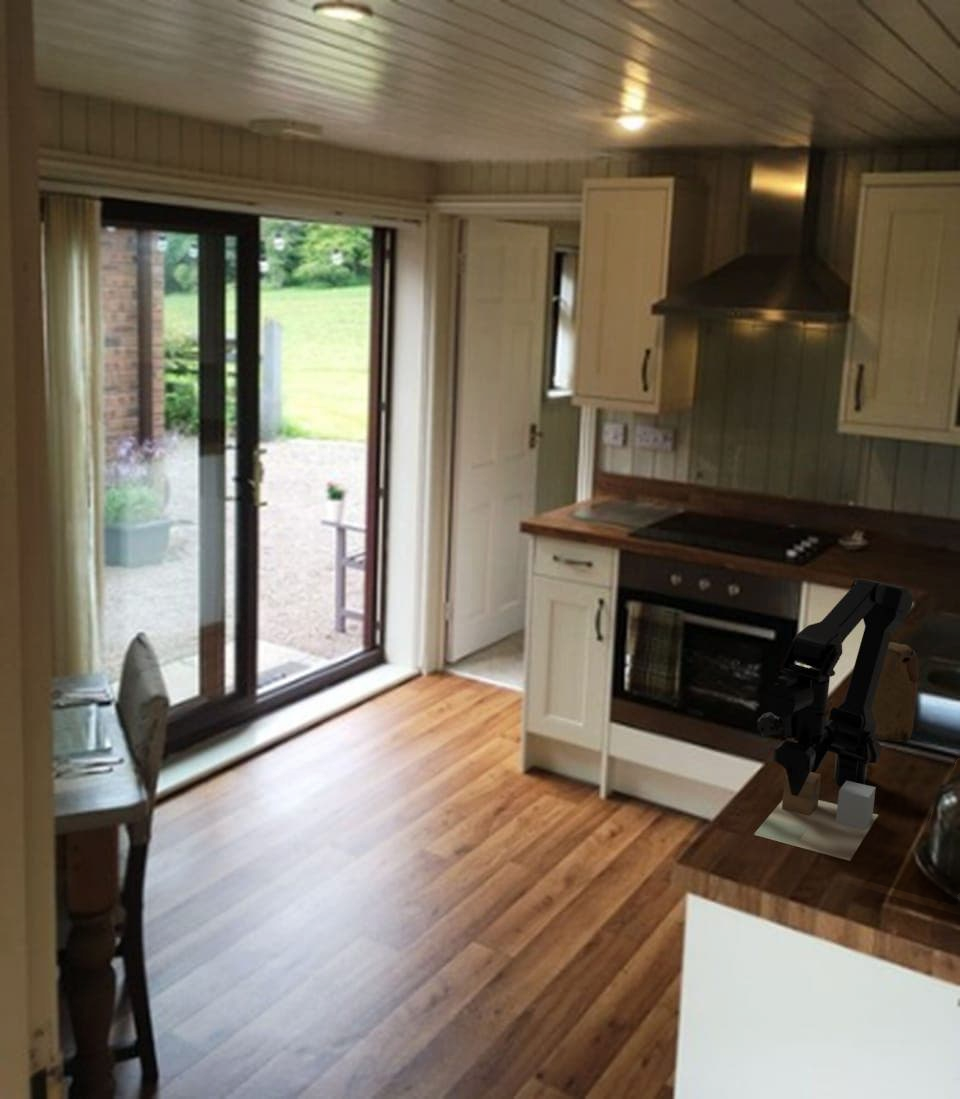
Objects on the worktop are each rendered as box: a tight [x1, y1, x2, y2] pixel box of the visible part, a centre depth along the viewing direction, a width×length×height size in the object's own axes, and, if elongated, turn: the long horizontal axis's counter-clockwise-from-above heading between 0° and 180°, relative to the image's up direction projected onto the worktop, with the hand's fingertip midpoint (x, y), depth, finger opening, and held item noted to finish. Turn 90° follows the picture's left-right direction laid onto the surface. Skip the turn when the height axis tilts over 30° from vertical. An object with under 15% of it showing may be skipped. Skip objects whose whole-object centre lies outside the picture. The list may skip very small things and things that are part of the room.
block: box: [871, 641, 920, 743], centre depth 238 cm, size 11×8×20 cm
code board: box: [753, 799, 879, 861], centre depth 196 cm, size 20×16×1 cm
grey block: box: [836, 780, 877, 830], centre depth 197 cm, size 5×5×6 cm
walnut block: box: [782, 772, 822, 816], centre depth 202 cm, size 5×5×6 cm
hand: (802, 786), depth 202 cm, fingers open, 9 cm apart
